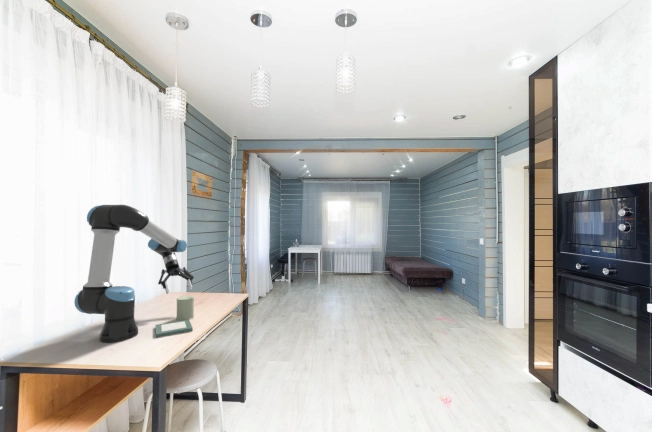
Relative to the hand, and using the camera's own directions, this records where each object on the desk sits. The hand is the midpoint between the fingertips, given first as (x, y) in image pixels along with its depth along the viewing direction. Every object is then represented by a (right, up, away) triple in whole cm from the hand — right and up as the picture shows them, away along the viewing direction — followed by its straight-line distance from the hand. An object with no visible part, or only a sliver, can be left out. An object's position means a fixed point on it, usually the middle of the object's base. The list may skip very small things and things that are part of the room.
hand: (179, 290), depth 174 cm
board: (+10, -13, -27) cm, 31 cm away
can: (+7, -14, -8) cm, 17 cm away
